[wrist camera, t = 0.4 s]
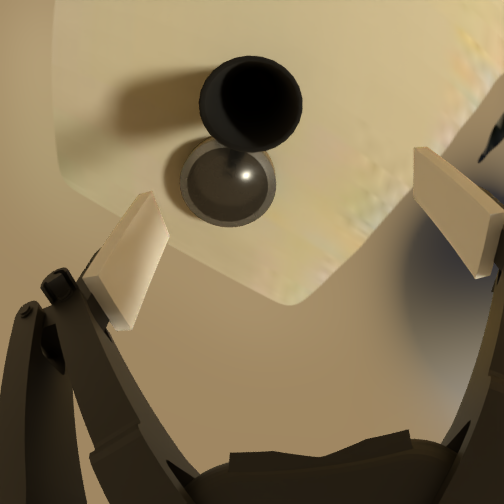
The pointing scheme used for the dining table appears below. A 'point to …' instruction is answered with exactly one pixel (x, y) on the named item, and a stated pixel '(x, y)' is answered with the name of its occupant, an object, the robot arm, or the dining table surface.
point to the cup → (250, 104)
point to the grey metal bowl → (227, 184)
